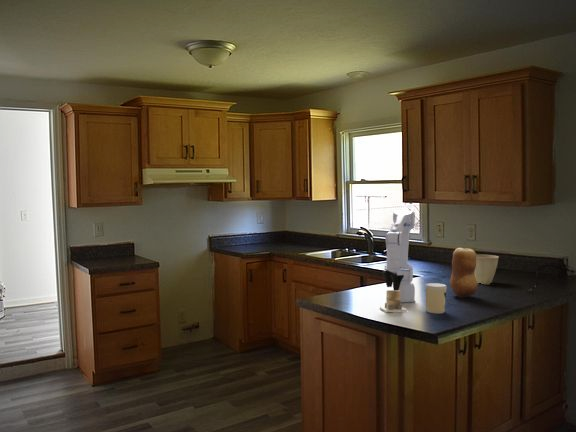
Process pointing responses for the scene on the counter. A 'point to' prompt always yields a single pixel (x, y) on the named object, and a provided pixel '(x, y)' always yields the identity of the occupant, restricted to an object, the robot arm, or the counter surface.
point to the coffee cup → (435, 297)
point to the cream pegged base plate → (391, 308)
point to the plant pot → (485, 268)
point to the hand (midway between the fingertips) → (392, 288)
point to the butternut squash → (463, 272)
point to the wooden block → (393, 298)
